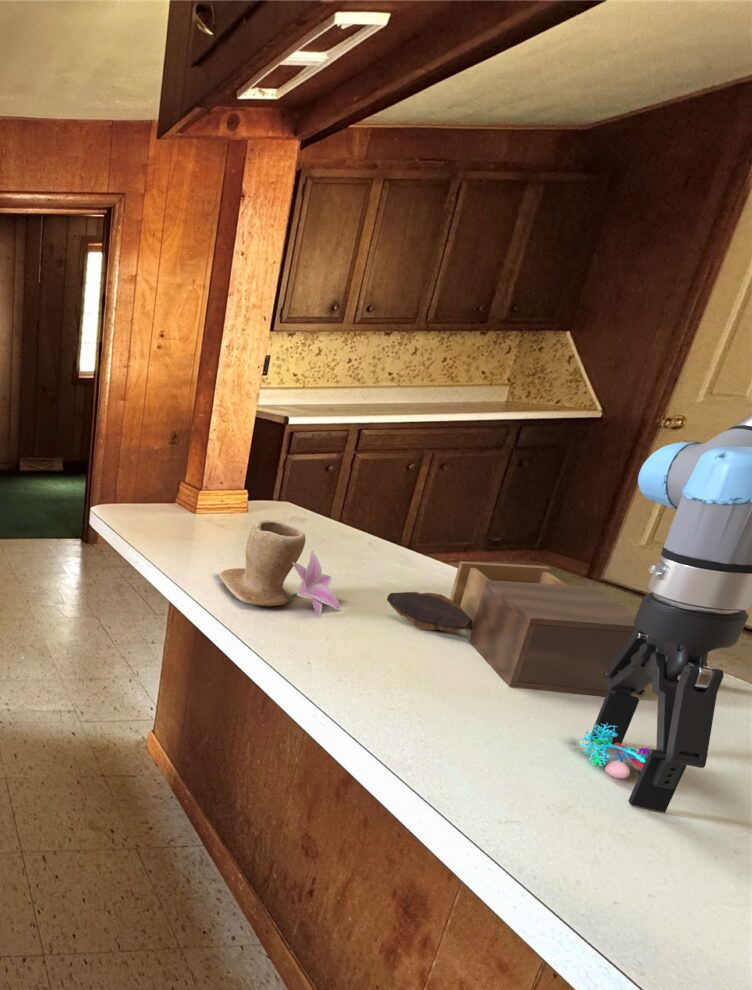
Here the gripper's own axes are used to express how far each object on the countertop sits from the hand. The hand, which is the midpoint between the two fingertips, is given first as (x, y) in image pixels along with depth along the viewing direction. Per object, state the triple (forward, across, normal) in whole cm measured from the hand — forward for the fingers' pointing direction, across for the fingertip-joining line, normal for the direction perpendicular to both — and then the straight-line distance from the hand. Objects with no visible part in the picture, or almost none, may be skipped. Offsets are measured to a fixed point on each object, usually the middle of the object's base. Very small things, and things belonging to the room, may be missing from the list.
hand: (624, 772), depth 76 cm
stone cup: (+1, -43, -43) cm, 60 cm away
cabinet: (0, -28, -2) cm, 28 cm away
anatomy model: (0, 0, 0) cm, 0 cm away
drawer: (-1, -44, -5) cm, 44 cm away
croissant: (-4, -37, -17) cm, 41 cm away
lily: (+1, -40, -34) cm, 52 cm away
